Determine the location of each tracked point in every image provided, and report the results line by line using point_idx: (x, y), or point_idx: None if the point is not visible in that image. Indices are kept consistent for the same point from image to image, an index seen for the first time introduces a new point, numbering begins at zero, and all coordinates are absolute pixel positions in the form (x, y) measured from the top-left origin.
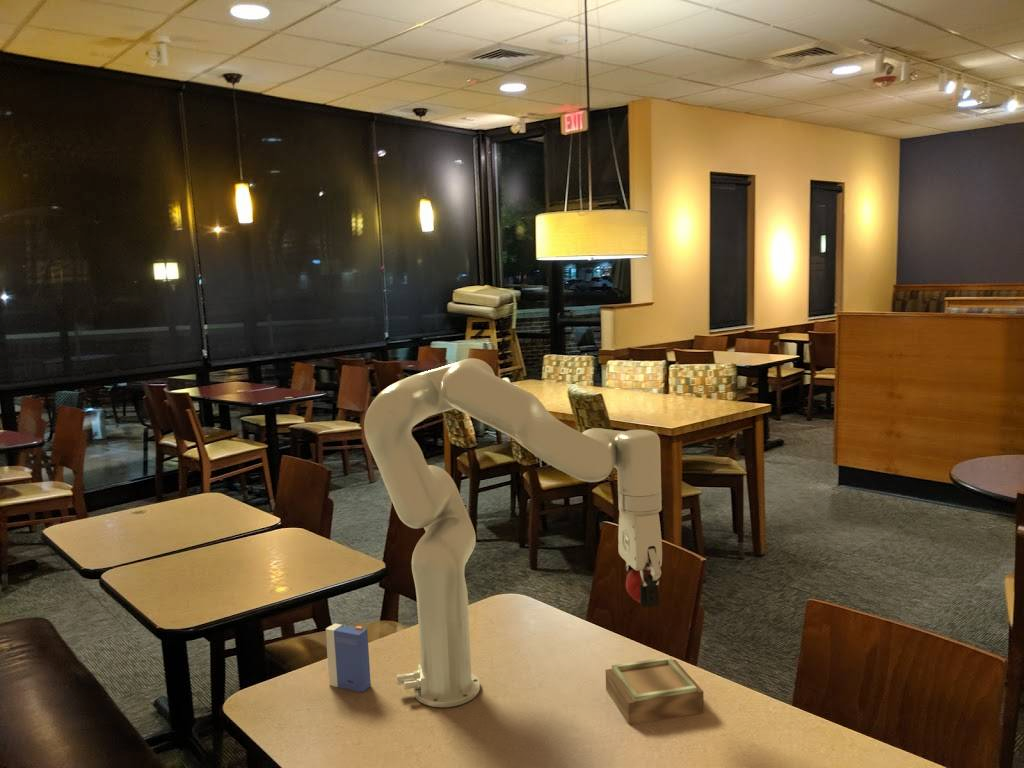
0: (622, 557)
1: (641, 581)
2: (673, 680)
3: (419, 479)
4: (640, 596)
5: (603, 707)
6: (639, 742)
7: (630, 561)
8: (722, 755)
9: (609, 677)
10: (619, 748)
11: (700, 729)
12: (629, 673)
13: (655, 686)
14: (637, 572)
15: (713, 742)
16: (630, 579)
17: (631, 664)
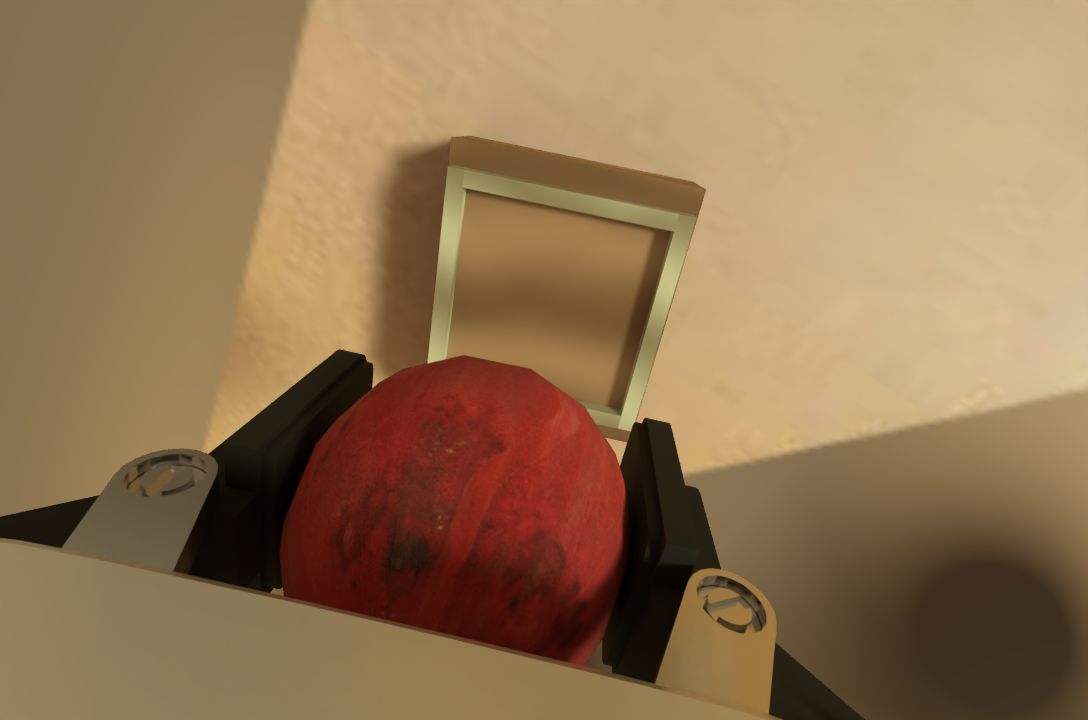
0: (630, 696)
1: (210, 488)
2: (517, 361)
3: None
4: (315, 387)
5: (599, 111)
6: (375, 113)
7: (23, 663)
8: (259, 290)
9: (657, 179)
10: (366, 29)
11: (377, 313)
12: (630, 258)
13: (510, 289)
14: (344, 576)
15: (315, 306)
16: (409, 444)
17: (659, 290)
